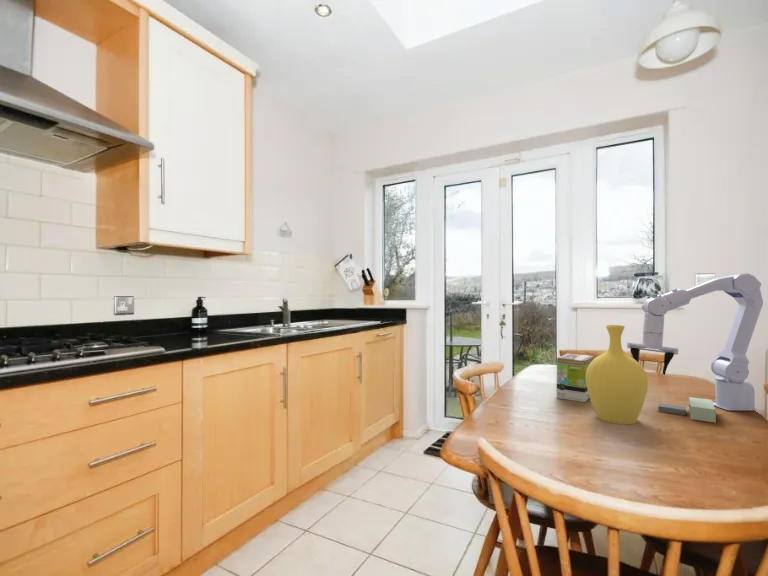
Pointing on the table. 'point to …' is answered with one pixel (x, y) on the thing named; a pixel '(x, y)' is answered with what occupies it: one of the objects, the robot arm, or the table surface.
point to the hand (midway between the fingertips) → (650, 372)
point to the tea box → (573, 377)
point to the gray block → (672, 408)
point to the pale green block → (702, 409)
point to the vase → (616, 382)
